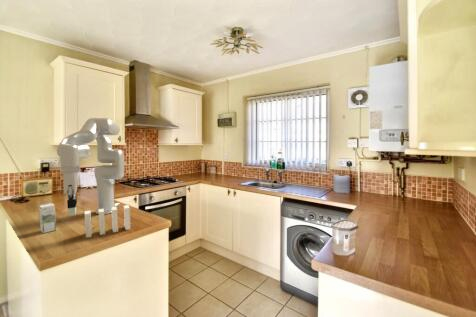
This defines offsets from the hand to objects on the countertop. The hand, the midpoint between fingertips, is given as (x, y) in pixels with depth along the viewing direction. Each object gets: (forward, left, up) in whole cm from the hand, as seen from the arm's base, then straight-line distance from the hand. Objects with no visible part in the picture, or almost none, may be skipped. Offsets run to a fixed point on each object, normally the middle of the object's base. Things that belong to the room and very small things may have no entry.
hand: (72, 205), depth 113 cm
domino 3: (-15, +11, -16) cm, 24 cm away
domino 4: (-19, +14, -16) cm, 29 cm away
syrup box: (-1, -22, -17) cm, 28 cm away
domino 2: (-10, +7, -16) cm, 20 cm away
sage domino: (0, 0, -4) cm, 4 cm away
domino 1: (-5, +3, -16) cm, 17 cm away
